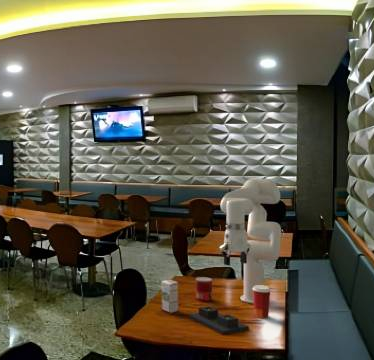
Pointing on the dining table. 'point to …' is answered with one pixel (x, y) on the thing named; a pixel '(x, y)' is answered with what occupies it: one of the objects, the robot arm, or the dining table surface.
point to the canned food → (203, 289)
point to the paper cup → (261, 300)
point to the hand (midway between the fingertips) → (235, 263)
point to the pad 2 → (227, 320)
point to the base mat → (217, 327)
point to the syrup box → (169, 296)
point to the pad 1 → (208, 312)
